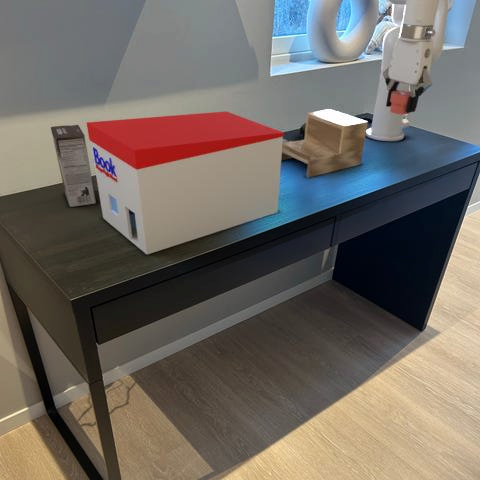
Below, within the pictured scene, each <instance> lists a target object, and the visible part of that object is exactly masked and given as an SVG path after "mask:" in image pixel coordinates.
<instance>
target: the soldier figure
mask: <svg viewBox="0 0 480 480" xmlns="http://www.w3.org/2000/svg"><path fill="white" fill-rule="evenodd" d="M276 130H278V131H281V130H280V128H278V129H276ZM290 142H294V140H290V141H288V140H286V139H284V138H283V141H282V143H283V144H285V143H290Z"/></svg>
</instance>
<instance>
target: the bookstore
mask: <svg viewBox="0 0 480 480" xmlns="http://www.w3.org/2000/svg"><path fill="white" fill-rule="evenodd" d="M86 129H87V134H88V140H89V141H90V148H91V153H92V154H91V155H92V160H93V165H94V166H93V167H94V171H95V177H96V178H95V179H96V184H97V189H98V195H99V201H100V208H101V213H102V218H103V220H105V221H106V222H107V223H109V224H110V226H112V227H113V228H114V229H115V230H116V231H118V232H119V233H120V234H121V235H123V236H124V237H125V238H126V239H127V240H129V241H130V242H131V243H132V244H133V245H135V247H137V248H138V249H139V250H141V251H142V252H143V253H144V254H145V255H150V254H153V253H156V252H159V251H162V250H165V249H169V248H171V247H174V246H178V245H182V244H185V243H187V242H190V241H193V240H197V239H200V238H203V237H205V236H208V235H212V234H215V233H218V232H222V231H224V230H227V229H231V228H234V227H236V226H240V225H243V224H246V223H249V222H252V221H255V220H257V219H261V218H264V217H267V216H270V215H273V214H277V213H278V212H279V197H280V183H281V168H282V160H281V156H282V141H283V139H284V132H283V131H281V130H280V131H278V130H279V129H278V130H277V129H275V128H272V127H270V126H268V125H264V124H262V123H259V122H256V121H253V120H251V119H248V118H245V117H243V116H240V115H238V114H235V113H232V112H229V111H214V112H213V111H212V112H201V113H189V114H188V113H187V114H176V115H164V116H150V117H137V118H126V119H112V120H111V119H110V120H99V121H88V122H86Z"/></svg>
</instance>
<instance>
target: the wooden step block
mask: <svg viewBox="0 0 480 480" xmlns="http://www.w3.org/2000/svg"><path fill="white" fill-rule="evenodd" d="M305 123H306V128H305V135H304V139H300V140H295V141H293V142H290V141H289V142H290V143H285V144H283V143H282V156H281V161H284V160H290V159H293V158H294V159H295V160H298V161H300V162H303V164H306V165H307V167H306V178H312V177H316V176H320V175H324V174H329V173H332V172H336V171H340V170H344V169H348V168H352V167H356V166H359V165H362V159H363V154H364V147H365V141H366V137H367V136H366V130H367V129H368V125H369V121H368V120H364V119H362V118H358V117H356V116H352V115H349V114H347V113H344V112H340V111H337V110H334V109H331V108H327V109H323V110H317V111H311V112H307V113H306V119H305Z"/></svg>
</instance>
